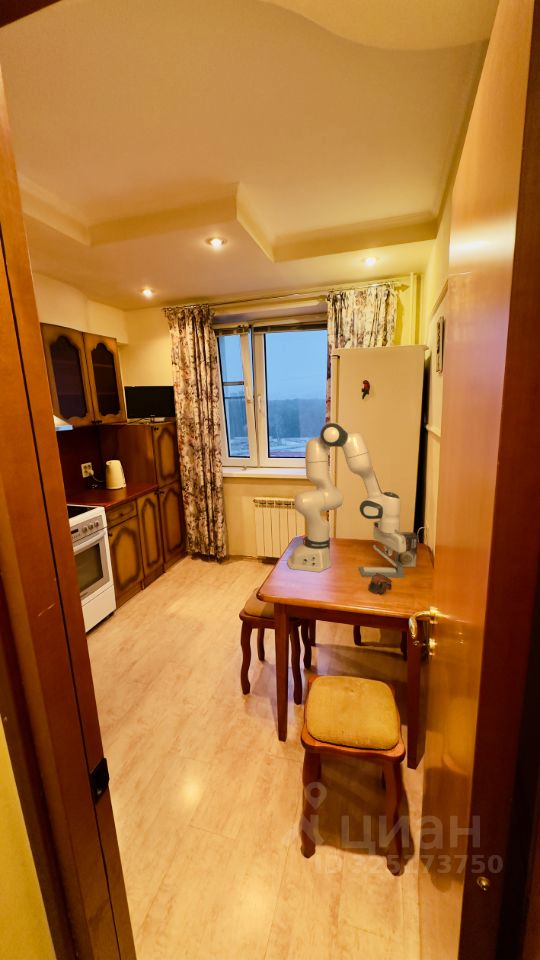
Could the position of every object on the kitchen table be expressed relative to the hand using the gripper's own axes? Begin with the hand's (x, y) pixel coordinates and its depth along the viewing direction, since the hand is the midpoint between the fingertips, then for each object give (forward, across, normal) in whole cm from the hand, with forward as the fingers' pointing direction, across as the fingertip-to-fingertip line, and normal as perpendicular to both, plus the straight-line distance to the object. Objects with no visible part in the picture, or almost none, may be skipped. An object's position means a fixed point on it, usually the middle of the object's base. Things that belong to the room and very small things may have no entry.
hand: (388, 554), depth 171 cm
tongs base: (+10, +1, +2) cm, 10 cm away
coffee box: (+10, +6, -14) cm, 18 cm away
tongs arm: (+2, +1, +1) cm, 2 cm away
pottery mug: (+10, -12, +12) cm, 20 cm away
